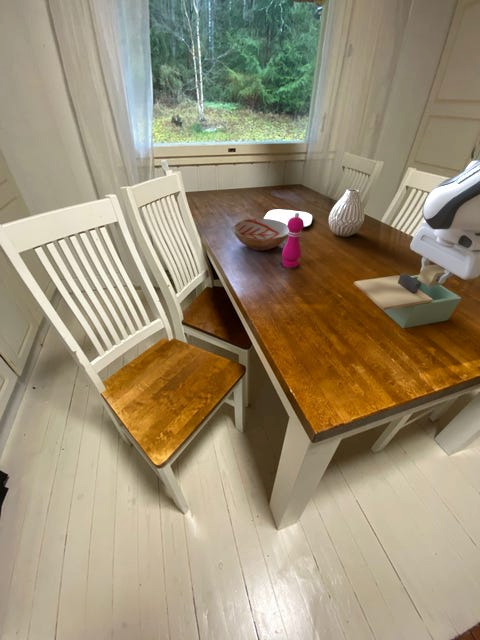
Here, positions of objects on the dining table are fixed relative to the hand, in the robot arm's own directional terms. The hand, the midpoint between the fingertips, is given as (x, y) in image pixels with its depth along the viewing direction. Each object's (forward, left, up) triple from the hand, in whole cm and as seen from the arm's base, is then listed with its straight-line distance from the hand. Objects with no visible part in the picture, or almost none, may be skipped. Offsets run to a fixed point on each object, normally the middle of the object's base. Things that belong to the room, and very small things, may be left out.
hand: (431, 277), depth 79 cm
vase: (+62, -12, -12) cm, 64 cm away
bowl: (+58, +32, -12) cm, 67 cm away
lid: (0, +12, -3) cm, 13 cm away
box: (0, +2, -12) cm, 12 cm away
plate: (+86, +7, -12) cm, 87 cm away
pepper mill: (+38, +26, -12) cm, 48 cm away
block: (0, 0, -2) cm, 2 cm away
